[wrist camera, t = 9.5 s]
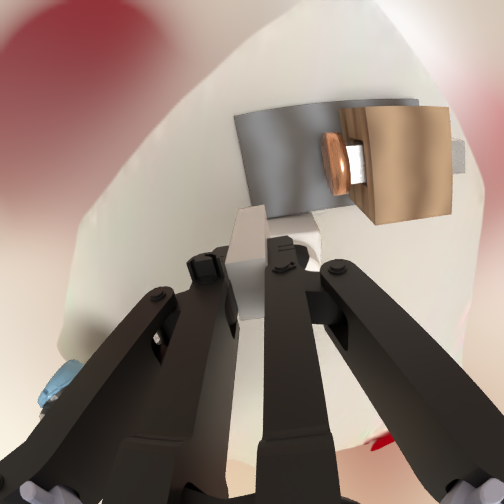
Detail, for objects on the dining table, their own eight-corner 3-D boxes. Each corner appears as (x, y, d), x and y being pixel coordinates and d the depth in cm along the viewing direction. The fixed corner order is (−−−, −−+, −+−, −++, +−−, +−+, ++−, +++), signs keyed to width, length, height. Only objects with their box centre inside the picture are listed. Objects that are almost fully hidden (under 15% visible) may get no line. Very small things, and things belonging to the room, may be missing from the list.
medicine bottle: (266, 262, 43) (266, 312, 32) (260, 217, 40) (259, 256, 29) (314, 257, 42) (329, 305, 32) (311, 211, 39) (329, 249, 29)
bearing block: (255, 216, 40) (252, 253, 30) (235, 116, 34) (222, 115, 24) (420, 193, 37) (463, 220, 27) (413, 99, 31) (460, 99, 21)
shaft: (325, 187, 34) (339, 203, 28) (317, 131, 31) (331, 134, 25) (442, 174, 32) (471, 188, 26) (440, 124, 29) (470, 130, 23)
